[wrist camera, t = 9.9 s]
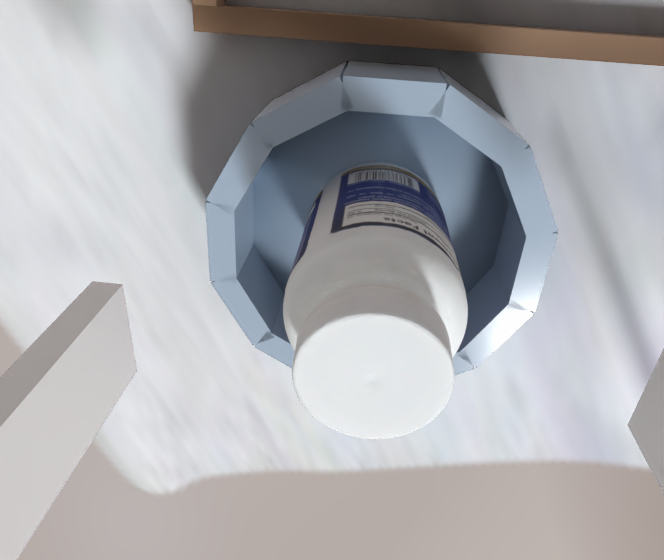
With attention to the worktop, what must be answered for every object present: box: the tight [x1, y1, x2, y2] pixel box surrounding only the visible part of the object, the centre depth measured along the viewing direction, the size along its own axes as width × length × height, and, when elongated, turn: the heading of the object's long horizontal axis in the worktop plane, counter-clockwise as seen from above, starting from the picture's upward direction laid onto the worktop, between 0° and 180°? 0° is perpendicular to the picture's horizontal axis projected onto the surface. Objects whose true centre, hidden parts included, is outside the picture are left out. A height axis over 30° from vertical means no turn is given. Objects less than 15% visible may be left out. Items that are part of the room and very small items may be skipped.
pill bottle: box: [283, 162, 468, 439], centre depth 17 cm, size 5×5×10 cm
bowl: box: [205, 61, 558, 375], centre depth 20 cm, size 12×12×4 cm
